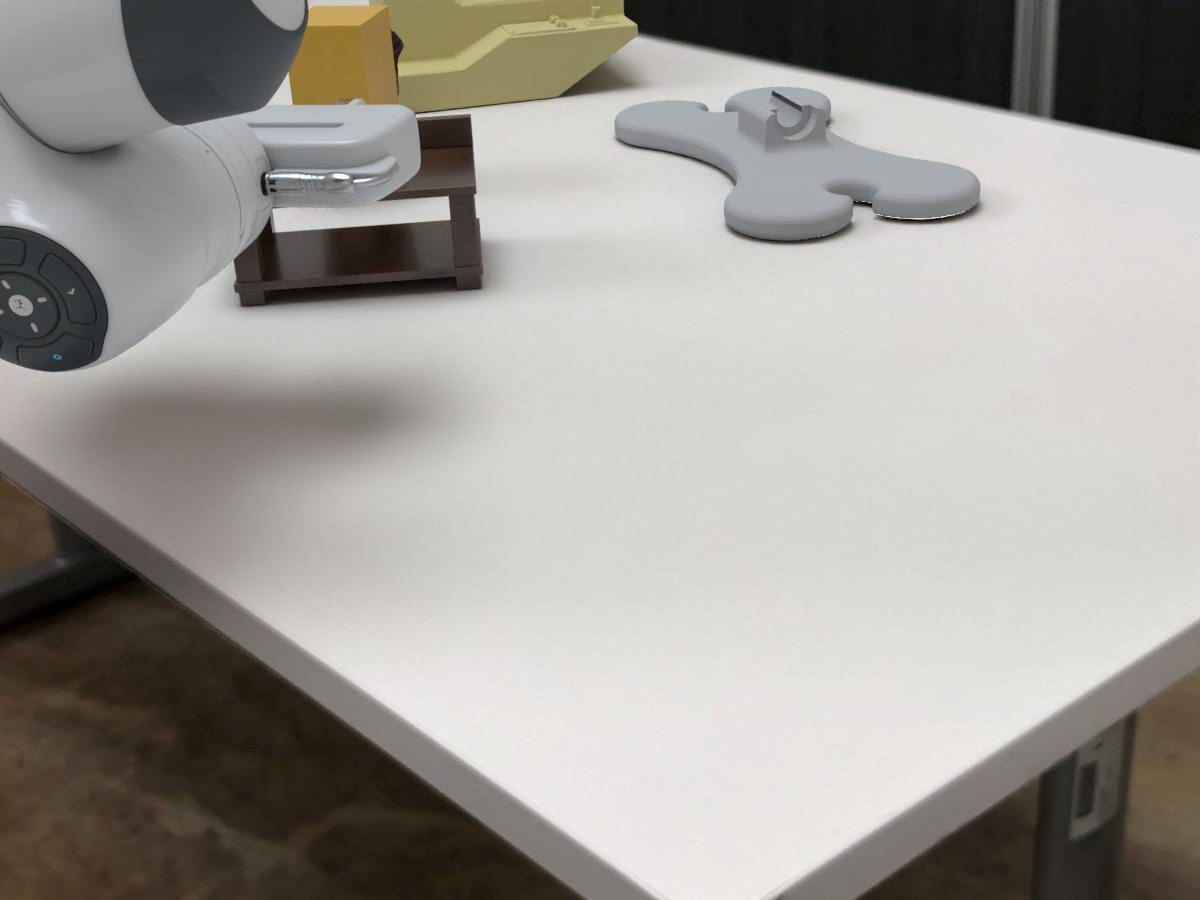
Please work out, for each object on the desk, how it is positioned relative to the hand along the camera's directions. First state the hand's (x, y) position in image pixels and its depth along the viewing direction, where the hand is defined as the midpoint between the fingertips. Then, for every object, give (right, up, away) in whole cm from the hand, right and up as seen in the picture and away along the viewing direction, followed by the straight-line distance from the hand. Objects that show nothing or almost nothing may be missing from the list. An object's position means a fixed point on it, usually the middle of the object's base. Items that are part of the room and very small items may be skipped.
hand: (275, 112), depth 90 cm
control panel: (+9, +17, +64) cm, 66 cm away
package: (+2, -1, +13) cm, 14 cm away
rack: (+3, -7, +17) cm, 18 cm away
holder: (+33, +3, +34) cm, 47 cm away
